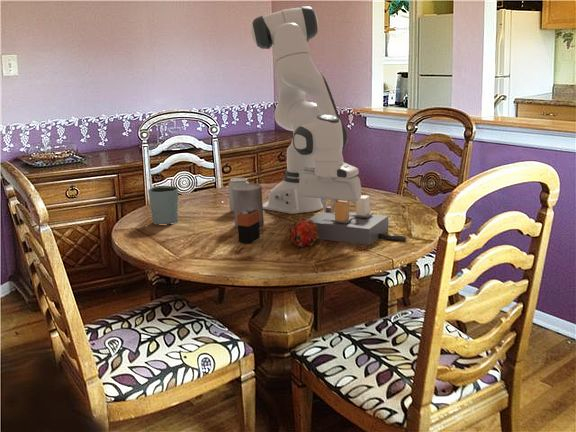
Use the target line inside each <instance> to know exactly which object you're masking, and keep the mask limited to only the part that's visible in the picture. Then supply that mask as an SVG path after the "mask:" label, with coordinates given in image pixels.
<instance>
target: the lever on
mask: <svg viewBox="0 0 576 432" xmlns="http://www.w3.org/2000/svg"><path fill="white" fill-rule="evenodd" d="M370 197H371V196H370V195H364V194H363V195H362V194H361V198H360V199H359V200H358V201H356V202H355V212H356V213H355V214H353V217H363V218H368V217H370V216H371V215H373V214H374V212H371V210H370V209H371V203H370V202H371V200H370V199H371V198H370Z"/></svg>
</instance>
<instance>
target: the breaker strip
mask: <svg viewBox="0 0 576 432" xmlns="http://www.w3.org/2000/svg"><path fill="white" fill-rule="evenodd" d="M355 213H356V211H349V217H351V218H353V219H352V220H351V221H349V222H348V223H339V222H331V220H332V219H334V218H335V212H334V213H325V212H324V210H322V211H320V212H319V213H316V214H315V215H313V216H311V217H309V218H307V219H306V220H305V219H304V220H305V221H308V220H312V221H313V222H314V223H316V224H317V226H318V229H319V231H318V232H317V234H318V235H320V237H319V238H318V239H317V240H319V239H320V240H326V241H334V242H342V243H343V242H344V243H348V244H349V243H352V244H358V245H364V244H365V246H366V245H367V246H370V245H371V244H373V243H374V242H376V241H377V240H378V239H383V240H384V239H385V240H392V241H403V242H406V240H407V237H406V236H404V235H396V234H388V233H387V231H388V232H389V215H383V214H374V213H373V215H371V216H370V217H368V218H363V217H353V214H355ZM375 240H376V241H375Z"/></svg>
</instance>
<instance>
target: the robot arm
mask: <svg viewBox="0 0 576 432" xmlns="http://www.w3.org/2000/svg"><path fill="white" fill-rule="evenodd" d="M319 23H320V22H319V18H318V16H317V13H316V11H315V10H314V9H313V7H311V6H307V5H306V6H305V5H304V6H300V7H294V8H293V7H292V8H285V9H281V10H279V11H276V12H272V13H271V12H270V13H268V14H265V15H260V16H257V17H256V18H254V19H253V21H252V23H251V24H252V25H251V29H250V31H251V37H252V41H254V43H255V44H256V46H257V47H258V48H260V49H264V50H270V49H272V57H273V66H274V69H275V74H276V79H277V85H278V99H277V101H278V103H277V105H276V107H275V108H274V113H273V117H274V120H275V122H276V124H277V125H278V126H279V127H281V128H282V129H284V130H287V131H290V132H292V133H293V135H292V139H291V142H290V145H288V147H287V149H286V168H287V169H286V170H284V171H283V172H281V173H280V174H281V175H280V176H281V177H283V178H282V181H280V182H279V183H278V184H277V185H276V186H274V187H273V188H272V189H271V190H270V191H269V194H268V201H266V202H263V203H262V204H263V210H268V211H275V212H279V213H284V214H289V215H290V214H291V215H292V214H299V213H300V214H301V213H311V212H315V211H320V210H322V209H323V211H324V212H325V213H334V212H335V202H337V201H339V200H341V201H349V202H352V203H356V201H358V200H359V199H360V198H361V195H362V185H361V179H360V177H359V176H357V175H358V174H359V172H360V171H359V168H358V167H355V166H354V165H351V164H349V163H347V162H344V157H343V150H344V149H345V147H346V145H347V143H348V139H349V134H348V130H347V128H346V126H345V124H344V122H343V121H342V118H341V117H340V114H339V111H338V108H337V106H336V103H335V100H334V97H333V95H332V92H331V89H330V87H329V84H328V82H327V80H326V78H325V76H324V75H323V73H321V72H320V71H319V70H318V69H317V68H316V67H317V66H315V64H314V61H313V58H312V55H311V52H310V51H311V50H310V47H309V43H308V42H310V40H311V39H313V38H315V36H316V35H317V34H318V32H319ZM306 95H309V96H310V97H312V99H313V100H314V102H312V101H307V99H306ZM328 200H330V203H331V205H330V206H329V203H328V202H327V201H328Z"/></svg>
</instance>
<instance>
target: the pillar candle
mask: <svg viewBox="0 0 576 432" xmlns="http://www.w3.org/2000/svg"><path fill="white" fill-rule="evenodd" d="M248 182H249V181H248ZM248 182H247V183H245V184H238V185H235V186H233V201H234V212H233V213H234V214H233V215H234V225H235V226H234V227H235V228H236V229H238V225H237V215H238V214H239V213H241V212H242V211H246V210H247V209H248V208H250V207H251V208H254V210H258V211H259V222H260V228H262V227H263V226H264V224H265V223H264V221H265V220H264V219H265V218H264V209H263V204H264V203H263V193H262V192H263V191H262V190H263V189H262V184H261V183H260V184H259V183H254V182H253V183H252V182H249V183H248Z"/></svg>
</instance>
